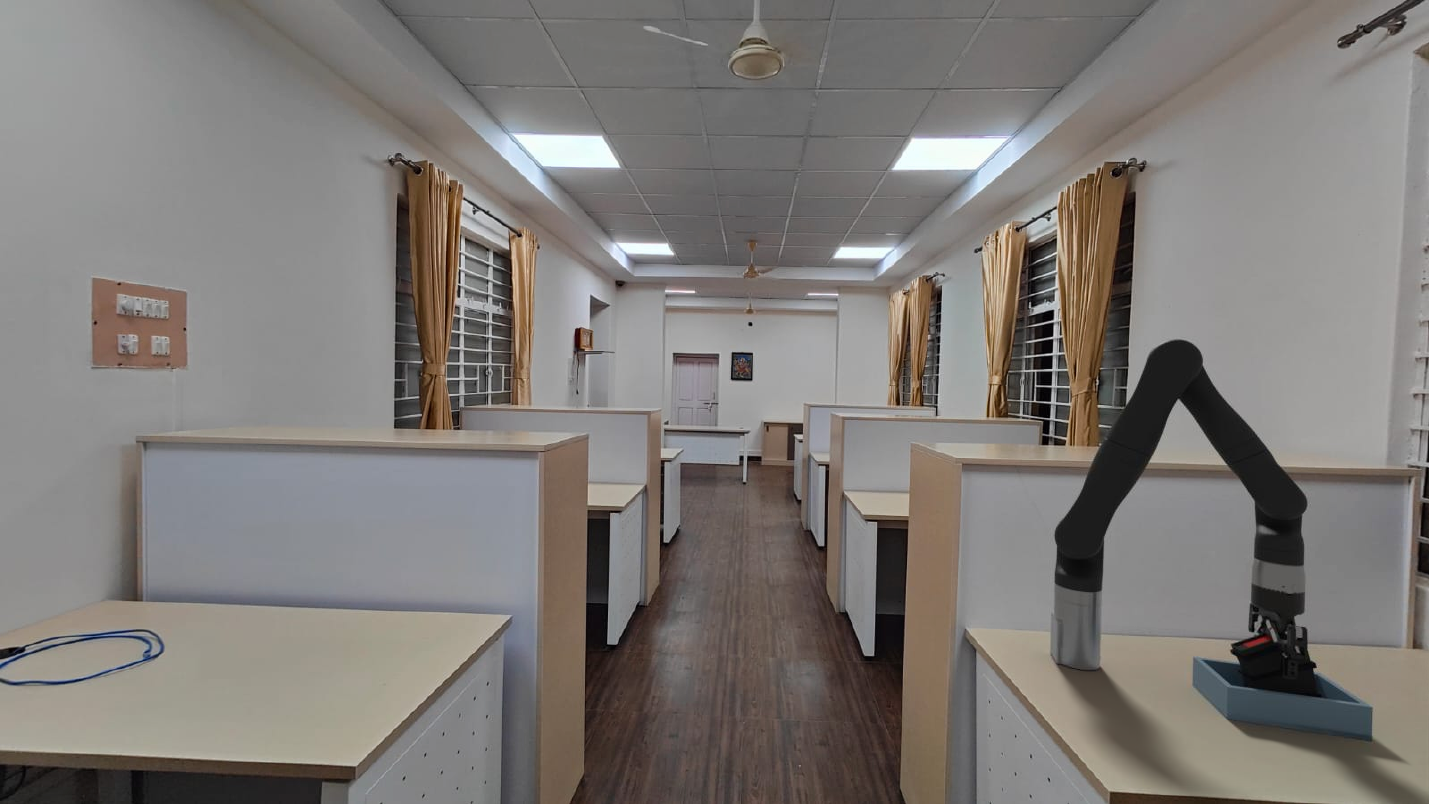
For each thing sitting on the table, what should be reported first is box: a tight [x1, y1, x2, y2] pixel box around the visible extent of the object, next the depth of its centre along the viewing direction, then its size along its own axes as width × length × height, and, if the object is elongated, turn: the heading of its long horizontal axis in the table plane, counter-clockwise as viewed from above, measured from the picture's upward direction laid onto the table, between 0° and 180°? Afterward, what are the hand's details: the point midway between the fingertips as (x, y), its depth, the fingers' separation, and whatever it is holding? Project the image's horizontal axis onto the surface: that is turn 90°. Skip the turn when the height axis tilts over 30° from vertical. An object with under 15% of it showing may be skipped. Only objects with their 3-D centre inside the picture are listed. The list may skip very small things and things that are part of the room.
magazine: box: [1229, 633, 1321, 698], centre depth 115 cm, size 4×13×15 cm, turn 80°
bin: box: [1191, 656, 1374, 742], centre depth 114 cm, size 21×14×6 cm, turn 72°
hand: (1275, 668), depth 114 cm, fingers open, 8 cm apart
